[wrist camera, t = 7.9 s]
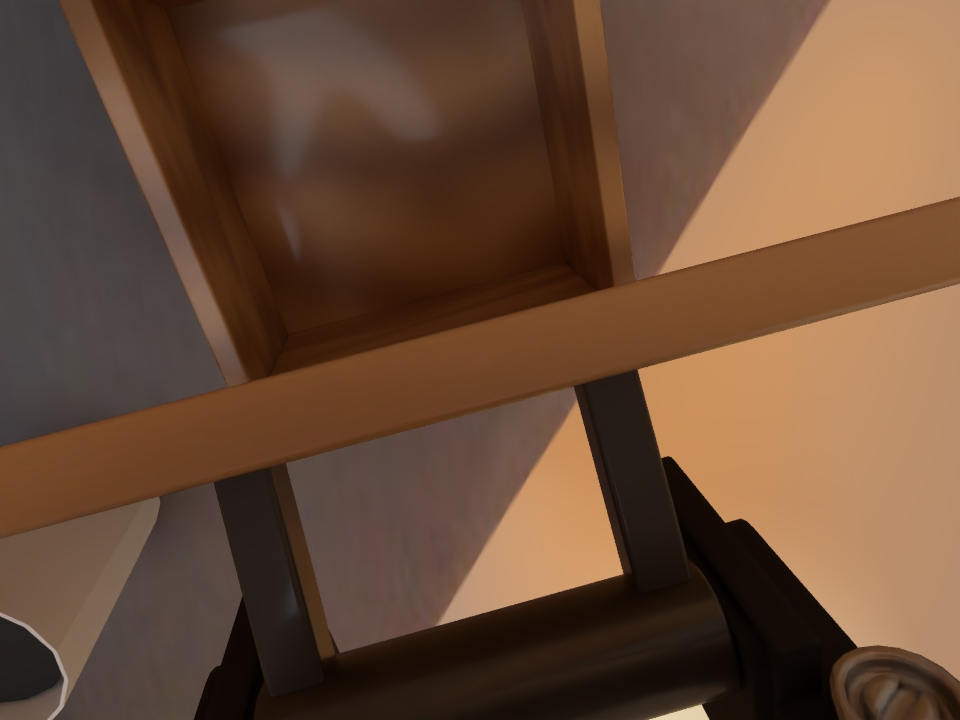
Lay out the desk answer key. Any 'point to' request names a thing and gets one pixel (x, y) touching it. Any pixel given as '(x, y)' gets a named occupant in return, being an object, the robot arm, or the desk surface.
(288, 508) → the lid
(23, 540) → the white tumbler
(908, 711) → the robot arm
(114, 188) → the desk surface
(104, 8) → the box
